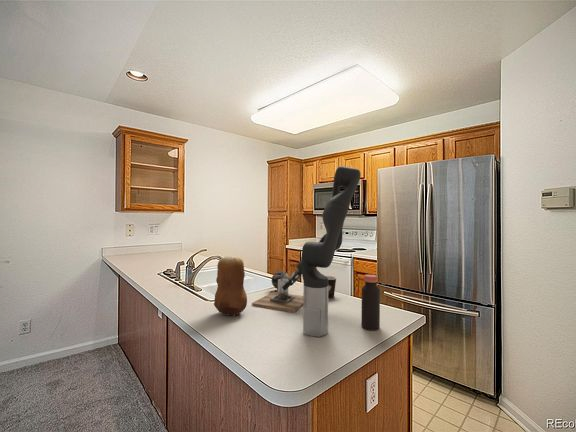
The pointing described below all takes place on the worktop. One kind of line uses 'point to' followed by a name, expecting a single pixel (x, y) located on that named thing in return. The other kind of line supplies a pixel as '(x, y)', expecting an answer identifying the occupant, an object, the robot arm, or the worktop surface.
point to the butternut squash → (230, 286)
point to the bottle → (370, 303)
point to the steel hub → (281, 292)
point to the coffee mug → (331, 286)
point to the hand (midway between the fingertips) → (284, 286)
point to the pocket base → (280, 302)
